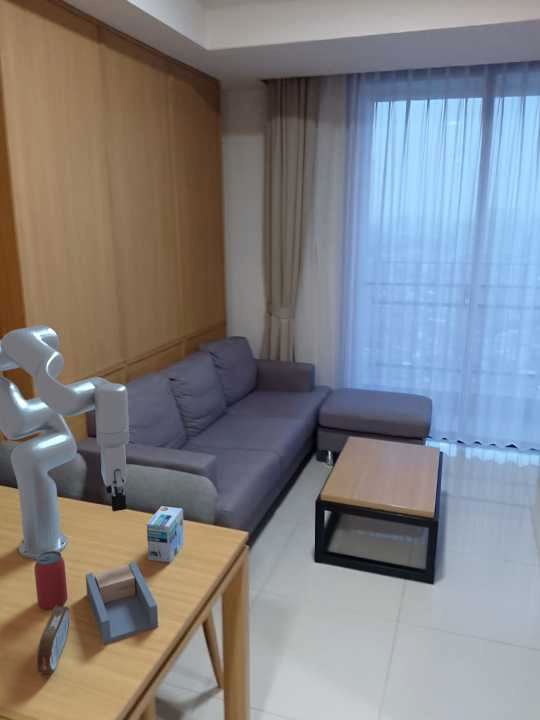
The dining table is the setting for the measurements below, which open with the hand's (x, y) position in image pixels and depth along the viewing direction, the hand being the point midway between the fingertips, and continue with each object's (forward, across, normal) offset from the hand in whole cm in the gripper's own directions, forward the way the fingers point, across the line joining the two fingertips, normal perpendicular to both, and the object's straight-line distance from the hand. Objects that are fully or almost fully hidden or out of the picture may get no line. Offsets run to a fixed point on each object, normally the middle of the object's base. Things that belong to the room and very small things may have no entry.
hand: (116, 500), depth 137 cm
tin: (+22, +22, -16) cm, 35 cm away
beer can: (+22, +4, -16) cm, 27 cm away
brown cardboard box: (+20, +7, -2) cm, 22 cm away
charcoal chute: (+22, +13, -2) cm, 25 cm away
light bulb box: (+22, -8, +14) cm, 27 cm away
